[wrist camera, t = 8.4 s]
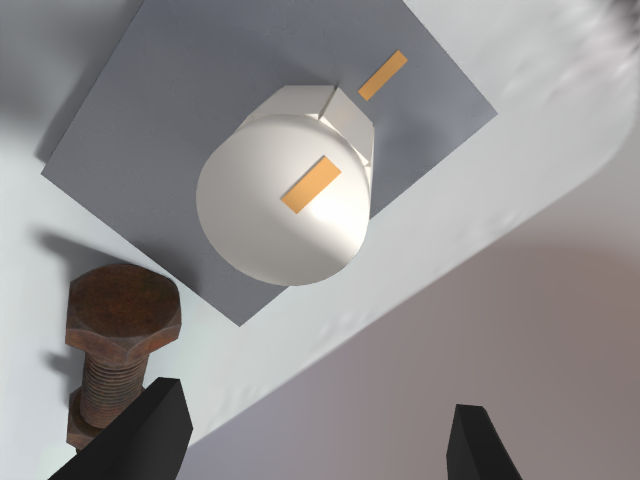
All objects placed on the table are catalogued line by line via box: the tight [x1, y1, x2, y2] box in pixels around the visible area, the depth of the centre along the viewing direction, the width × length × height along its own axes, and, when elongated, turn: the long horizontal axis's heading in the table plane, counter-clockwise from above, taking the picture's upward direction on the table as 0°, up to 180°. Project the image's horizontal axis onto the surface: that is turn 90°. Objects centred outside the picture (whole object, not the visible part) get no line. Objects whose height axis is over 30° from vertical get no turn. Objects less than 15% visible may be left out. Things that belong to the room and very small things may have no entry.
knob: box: [196, 85, 374, 286], centre depth 15 cm, size 5×5×6 cm
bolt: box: [65, 264, 182, 453], centre depth 25 cm, size 6×5×15 cm
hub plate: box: [41, 0, 498, 327], centre depth 17 cm, size 16×12×4 cm
